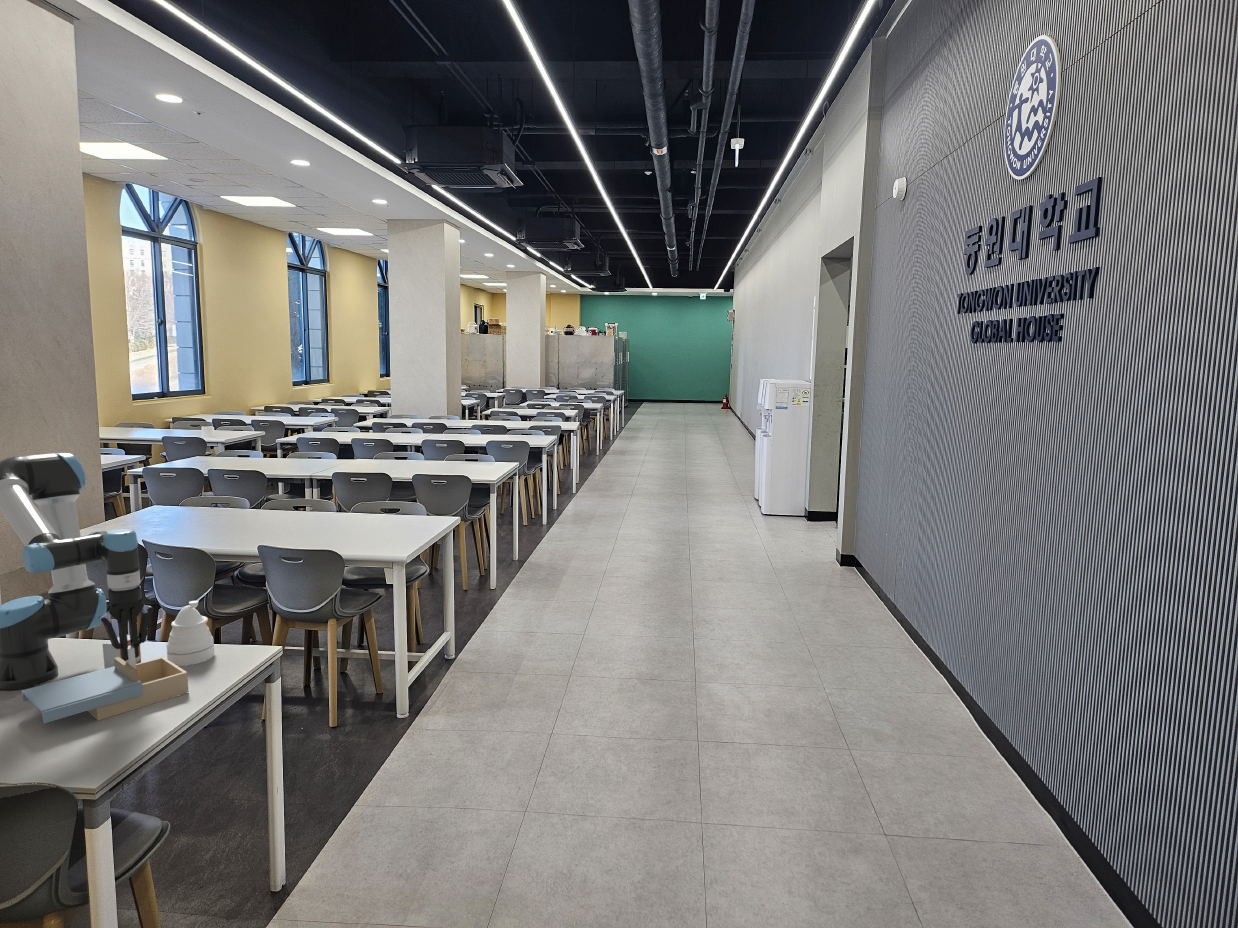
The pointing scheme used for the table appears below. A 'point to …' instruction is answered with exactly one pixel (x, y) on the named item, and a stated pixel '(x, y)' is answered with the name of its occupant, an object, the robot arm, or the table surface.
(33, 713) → the table surface
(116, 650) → the small box
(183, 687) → the tray
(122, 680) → the lid
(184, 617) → the honey pot
